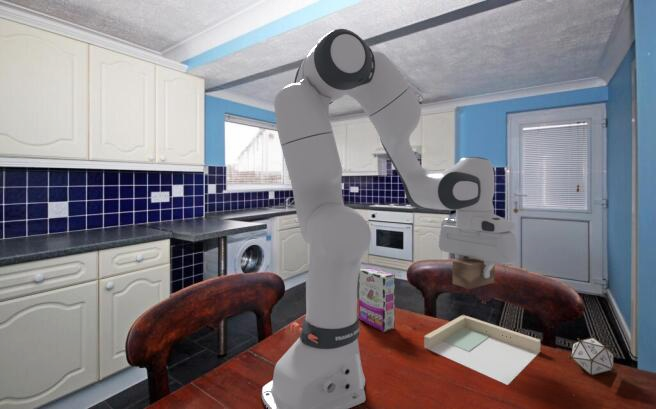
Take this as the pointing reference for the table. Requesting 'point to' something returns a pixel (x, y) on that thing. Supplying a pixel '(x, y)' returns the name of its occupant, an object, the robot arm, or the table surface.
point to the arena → (484, 347)
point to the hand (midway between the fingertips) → (473, 274)
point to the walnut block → (470, 273)
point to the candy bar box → (377, 298)
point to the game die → (592, 356)
